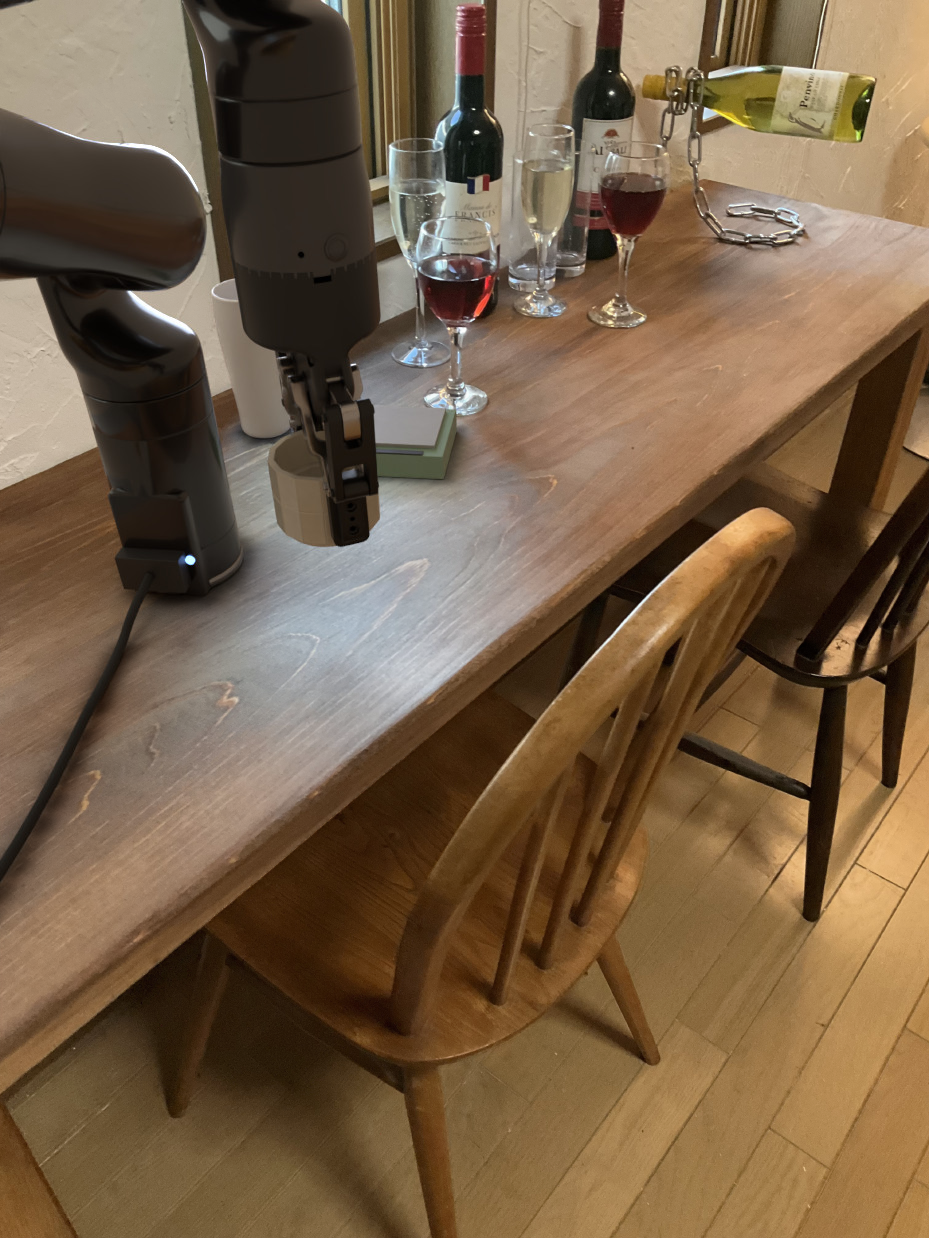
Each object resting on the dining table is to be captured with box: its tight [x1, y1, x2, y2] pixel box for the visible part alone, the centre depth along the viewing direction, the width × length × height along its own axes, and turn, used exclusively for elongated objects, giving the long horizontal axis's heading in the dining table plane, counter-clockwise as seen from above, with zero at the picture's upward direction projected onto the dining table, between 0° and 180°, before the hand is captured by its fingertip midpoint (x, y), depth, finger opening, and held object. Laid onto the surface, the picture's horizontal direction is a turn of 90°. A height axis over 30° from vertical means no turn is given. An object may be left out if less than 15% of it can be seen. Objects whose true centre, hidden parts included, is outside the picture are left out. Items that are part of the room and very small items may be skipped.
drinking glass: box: [210, 278, 291, 439], centre depth 97 cm, size 7×7×15 cm
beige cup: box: [266, 430, 381, 548], centre depth 59 cm, size 6×6×5 cm
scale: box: [373, 404, 458, 480], centre depth 97 cm, size 10×10×3 cm
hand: (335, 510), depth 60 cm, fingers closed on beige cup, 6 cm apart
